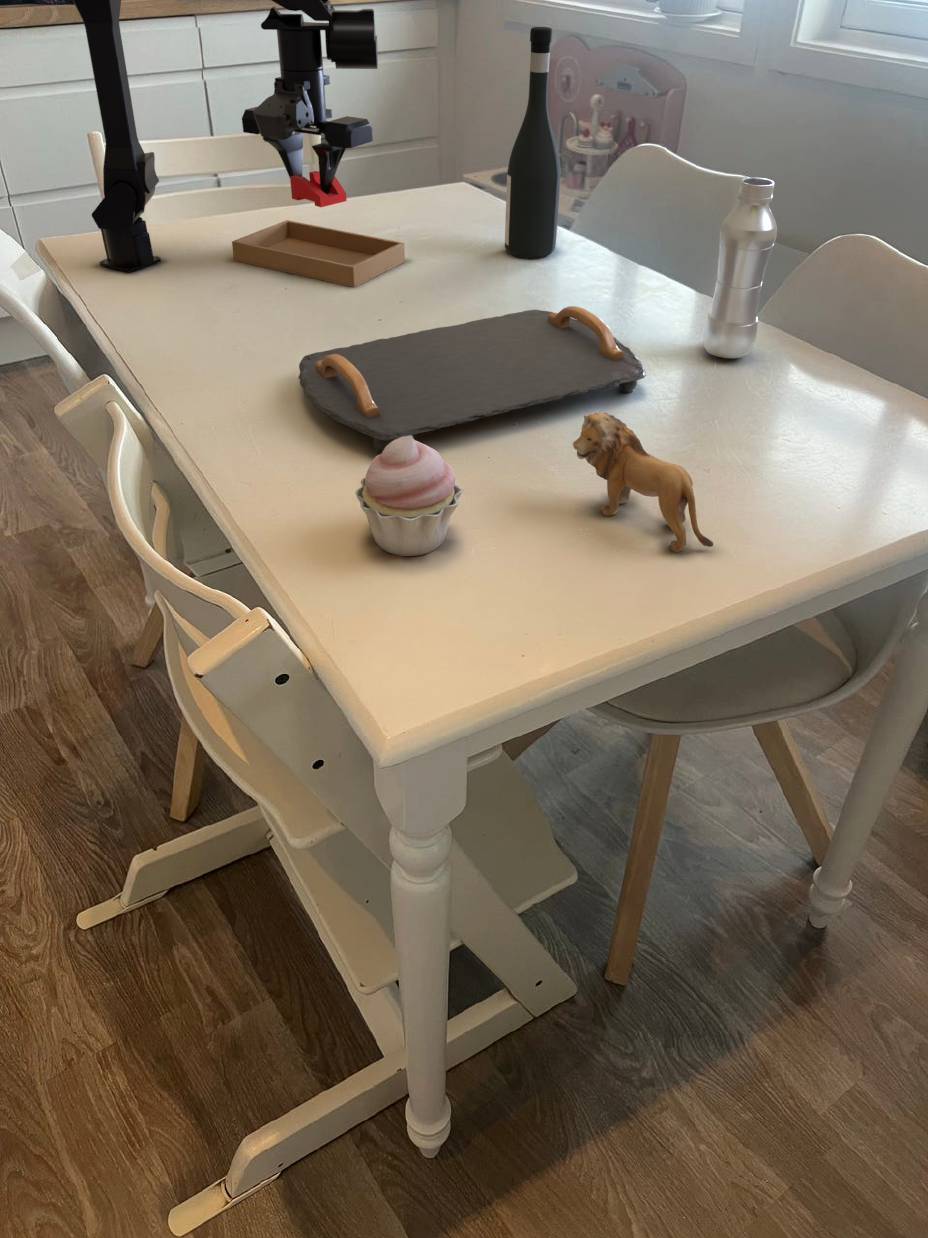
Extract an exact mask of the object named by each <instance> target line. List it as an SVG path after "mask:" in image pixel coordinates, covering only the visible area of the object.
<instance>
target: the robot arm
mask: <svg viewBox="0 0 928 1238" xmlns="http://www.w3.org/2000/svg"><path fill="white" fill-rule="evenodd" d="M271 1H272V2H274V3H275V4H277V5H279V6H280V7H282V8H283V9H286V10H287V11H292V12H298V11H301V12H302V13H303V14H305V15H307V16H308V17H309V18H310V19H311V20H313V21H315V22H313V21H305V19H304V16H303V14H302V13H281V11H279V10H278V9H277V7H276V6H272V7H271V8H270V10H269V12H268V15H267V17H266V18H265V19H264V20H263V21H262V22H261V24H260V28H261V29H262V30H264V31H266V30H267V31H268V30H269V31H276V36H277V37H276V38H277V50H278V59H279V71H280V72H279V73H280V76H278V77H274V82H273V88H274V90H273V94H272V95H270V96H268V97H267V98H265V99H264V100H263V101H262V102H261V103H260V104H259V105H258V106H254V107H251V108H246V109H245V110H244V111H243V114H242V116H241V125H242V132H243V133H245V134H252V135H260V136H261V137H262V140H263V142H264V143H268V144H269V145H270V146H272V147H273V148H274V149H275V150H276V152H277V153H278V155H279V157H280V159H281V161H282V164H283V165H284V167H285V171H286V172H287V175H288V177H289V178H290V176H295V175H299V176H303V169H304V168H303V167H304V165H303V164H304V162H303V161H304V159H303V158H304V134H308V135H315V136H320V143H317V144H314V145H311V148H312V150H313V151H314V153H315V154H316V156H317V158H318V159H317V163H318V171H319V174H320V186H321V190H322V191H323V192H324V193H325V194H328V193H329V191H330V188H331V184H332V182H333V179H334V176H335V177H336V173H337V171H338V167H339V165H340V163H341V160H342V158H343V156H344V154H345V152H346V149H353V148H357V147H359V146H363V145H365V144H369V143H371V142H373V140H374V139H373V138H374V137H373V136H374V135H373V127H372V124H371V123H370V121H369V120H368V118H362V117H355V116H348V115H345V116H343V117H339V118H336V119H332V118H333V110H332V109H331V108H327V107H326V91H325V86H328V85H330V84H331V80H330V79H331V78H330V75H326V74H324V62H323V47H322V31H324V37H325V38H324V39H325V54H326V61H330V62H331V63H334V65H335V69H338V70H355V69H356V70H378V69H379V68H378V67H379V65H378V64H379V60H378V59H379V56H378V55H379V54H378V53H379V51H378V35H376V20H375V10H374V9H373V8H361V9H358V10H352V9H351V10H350V9H347V10H346V9H345V10H344V9H343V10H341V9H335V7H334V6H333V4H332V2H331V0H271ZM72 2H73V4H74V5H75V8H76V10H77V12H78V14H79V16H80V18H81V20H82V23H83V25H84V29H85V34H86V40H87V46H88V50H89V55H90V56H89V57H90V62H91V68H92V73H93V80H94V84H95V85H94V86H95V90H96V96H97V101H98V107H99V113H100V119H101V124H102V129H103V135H104V141H105V149H104V157H103V169H102V173H103V175H102V177H103V178H102V179H103V180H102V181H103V182H102V183H103V185H102V186H103V196H104V197H103V199H102V200H101V201H100V202H99V203H98V205H97V206H96V207H95V209H94V210H93V211H92V213H91V217H92V219H93V222H94V223H95V225H96V227H97V228H98V229H99V230H100V232H101V237H102V242H103V246H104V251H105V256H106V258H105V259H102V260H100V261H99V266H101V267H105V268H111V269H113V270H117V271H122V272H126V273H133V272H136V271H139V270H142V269H144V268H147V267H149V266H151V265H154V264H157V263H160V262H161V261H162V259H161V257H160V256H157V255H154V253H153V252H154V251H153V247H152V242H151V235H150V233H149V231H148V227H147V221H146V220H144V219H143V218H142V217H141V215H143V214H144V213H145V209H146V205H147V204H148V203H149V201H151V199H152V198H153V196H154V194H155V192H156V186H157V185H158V184H159V182H160V179H159V177H158V176H157V172H156V166H155V164H156V163H155V162H156V160H155V159H156V158H155V157H156V156H155V152H154V151H150V152H145V150H144V149H143V147H142V145H141V143H140V141H139V138H138V134H137V126H136V121H135V120H136V119H135V115H134V114H135V113H134V108H133V102H132V96H131V90H130V84H129V76H128V71H127V64H126V57H125V52H124V45H123V40H122V34H121V27H120V15H121V6H122V0H72ZM329 119H332V120H329ZM328 120H329V121H328Z"/></svg>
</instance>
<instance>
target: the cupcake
mask: <svg viewBox="0 0 928 1238" xmlns="http://www.w3.org/2000/svg"><path fill="white" fill-rule="evenodd" d="M360 484H361V487H359V488H357V489H356V491H355V492H354V494H355V496H356V498H357V500H358V502H359V504H360V505H359V506H360V508H361V510H362V511H363V513H364V514H365V515H366V518H367V521H368V525H369V529H370V530H371V533H372V537H373V540H374V541H375V543H376V545H378V547H380V549H382V550H383V551H385V552H387V553H389V554H392V555H397V556H400V557H415V556H423V555H426V554H429V553H431V552H433V551H435V550H437V549H438V548H439V547H440V546H441V545H442V544H443V542H444V541H445V539H446V537H447V534H448V530H449V525H450V520H451V517H452V515H453V513H454V512H455V510H456V509H457V507H458V506H459V499H460V497H461V495H462V494H463V492H464V490H465V489H464V488H463V487H461V486H460V485H457V484H456V475H455V471H454V470H453V468H452V467H451V466H450V464H448V463H447V462H446V461H445V460H444V459H443V458H442V456H441V454H440V453H439V452H438V451H437V450H436V449H434V448H433V447H431V446H428V445H427V444H424V443H422V442H420V441H417V440H415V439H414V436H413V435H412V436H405V437H404V436H403V437H401V438H398V439H395V440H394V441H392V442H391V443H389V444H388V445H387V446H386V447H385V449H384V450H383V452H382V454H378V455H376V456H375V457H374V458H373V460H372V461H371V463H370V464H369V467H367V471H366V473H365V476H364V478H361V480H360Z"/></svg>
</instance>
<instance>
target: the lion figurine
mask: <svg viewBox="0 0 928 1238" xmlns="http://www.w3.org/2000/svg"><path fill="white" fill-rule="evenodd" d="M583 419H584V420H583V424H582V426H581V432H580V435H579V437H578V438H577V439H575V440H574V441H573V442H572V447H573V449H574V450H575V451H576V457H577V458H578V459H579V460H584V459H585V460H586V462H587V464H589V465H590V466H592V467H593V468H595V474H596V475H597V476H598V477H599V478H602V479H603V480H604V481H606V490H607V497H608V500H609V501H608V503H609V505H604V506H602V507H601V513H602V515H603V516H609V517H610V516H613V515H615V514H617V513H618V511H619V509H620V504H626V503H627V502H629V500H630V495H631V491H632V490H633V491H634V492H636V493H638V494H640V495H641V496H644V497H649V498H650V497H651V498H653V497H654V498H655V497H656V498H657V497H658V498H657V499H658V500H657V501H658V505H659V509H660V512H661V514H662V518H663V519H664V521H665V522H666V524H667V526H668V527H669V528H670V529H671V531H672V533H673V534H674V536H675V540H674V539H673V540H671V541H670V544H669V549H670V550H671V551H672V552H675V553H679V552H682V551H683V550H684V549H685V547H686V545H687V533H686V527H685V526H684V523H685V522H686V519H687V518H686V513H685V512H686V508H687V507H688V514H689V519H690V524H691V529H692V531H693V534H694V535H695V537H696V539H697V540H698V542H699V543H700V544H701V545H702V546H703V547H708V548H712V547H714V542H713V541H712V540H710V539H709V538H708V537H707V536H705V535H704V534H702V533H701V532H700V529H699V525H698V520H697V513H696V512H697V509H696V498H695V494H694V487H693V486H694V483H693V482H694V481H693V479H692V477H691V475H690V473H689V472H688V471H687V470H686V468H685V467H683V466H681V465H680V464H676V463H672V462H667V461H665V460H662V459H660V458H657V457H655V456H653V455H652V454H650V453H648V452H647V451H646V450H645V449H644V447H643V445H642V443H641V440H640V438H639V437H638V436H637V434H636V433H635V432H634V430H632V429H630V428H629V427H628V425H627V424H626V423H624V422H622V421H621V419H619V418H616V417H615V416H614V414H613V415H612V414H609V413H607V412H603V411H596V412H593V413H588V414H585V415H583Z"/></svg>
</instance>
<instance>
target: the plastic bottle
mask: <svg viewBox="0 0 928 1238" xmlns="http://www.w3.org/2000/svg"><path fill="white" fill-rule="evenodd" d="M774 188H775V181H774V180H773V179H772V180H771V179H769V178H764V177H746V178H743V179H742V180H741V182H740V188H739V192H738V194H737V199H738V200H739V202H738V203H737V205H736V206H735V207H734V208H733V209H732V210H731V211H730V212H729V214H727V216H726V218H725V219H724V220H723V223H722V225H721V227H720V229H719V244H718V245H719V247H718V266H717V272H716V275H717V277H716V283H715V288H714V292H713V296H712V300H711V304H710V308H709V312H708V315H707V316H706V319H705V322H704V325H703V329H702V345H703V347H704V349H705V351H706V352H707V353H708V354H710V355H712V356H715V357H717V358H718V357H719V358H723V359H738V358H743V357H745V356H747V355H748V354H749V353H750V352H751V351H752V349H753V347H754V345H755V342H756V339H757V335H758V312H759V304H760V296H761V290H762V286H763V281H764V278H765V274H766V269H767V267H768V263H769V260H770V257H771V254H772V251H773V248H774V246H775V243H776V239H777V236H778V227H777V222H776V219H775V217H774V214H773V211H772V210H771V208H770V203H771V202H772V201H773V198H774V195H773V194H774Z"/></svg>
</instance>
